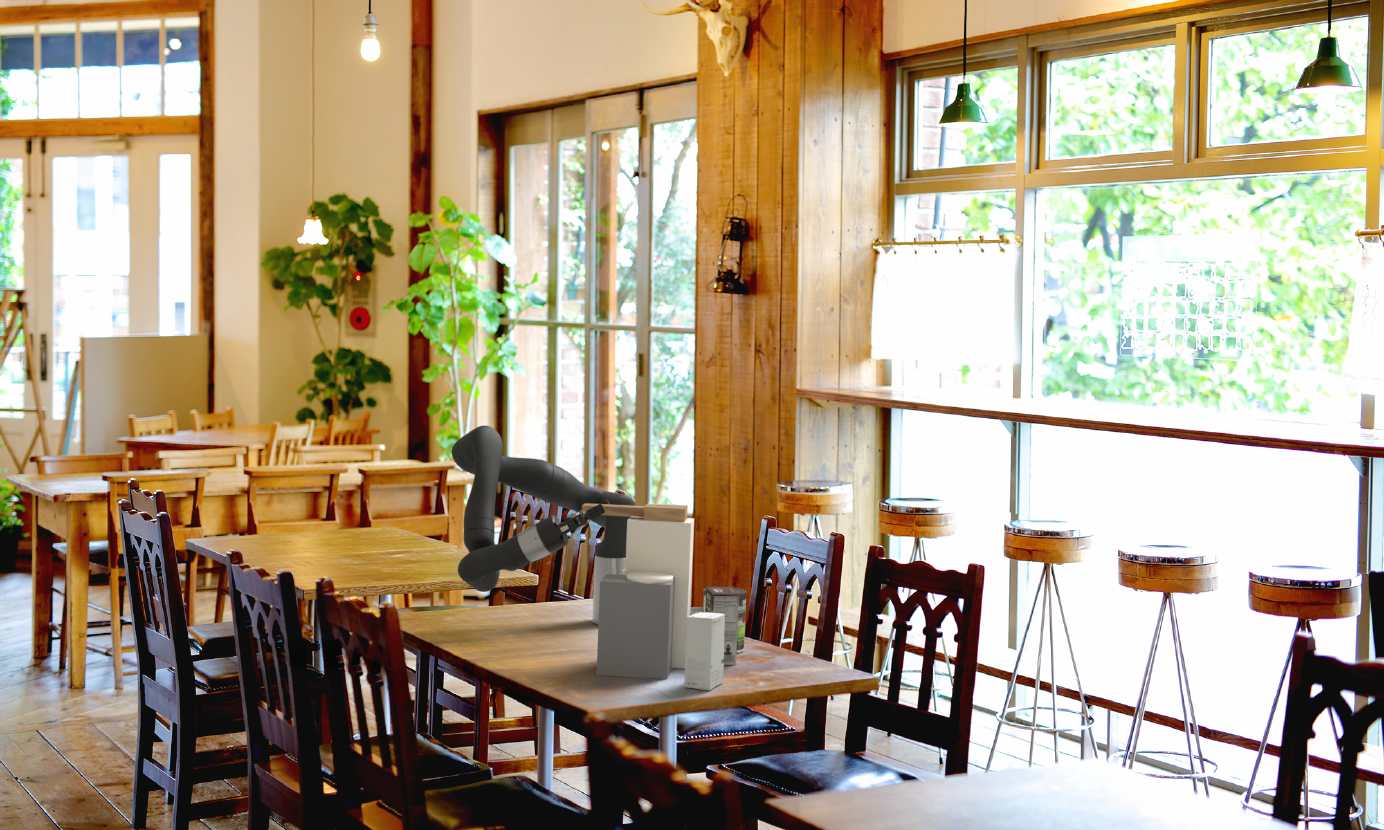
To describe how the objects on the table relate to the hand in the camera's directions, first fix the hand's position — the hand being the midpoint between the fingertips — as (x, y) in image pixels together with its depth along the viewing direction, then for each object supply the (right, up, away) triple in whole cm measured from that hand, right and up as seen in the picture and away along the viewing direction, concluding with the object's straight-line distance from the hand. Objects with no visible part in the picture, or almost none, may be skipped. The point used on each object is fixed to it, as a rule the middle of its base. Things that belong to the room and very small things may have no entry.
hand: (606, 505), depth 290 cm
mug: (+21, -35, +29) cm, 50 cm away
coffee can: (+26, -35, +17) cm, 47 cm away
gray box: (+7, -35, -9) cm, 37 cm away
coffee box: (+25, -36, +5) cm, 44 cm away
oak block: (+6, -3, 0) cm, 7 cm away
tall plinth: (+11, -35, 0) cm, 37 cm away
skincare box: (+21, -36, -19) cm, 46 cm away
